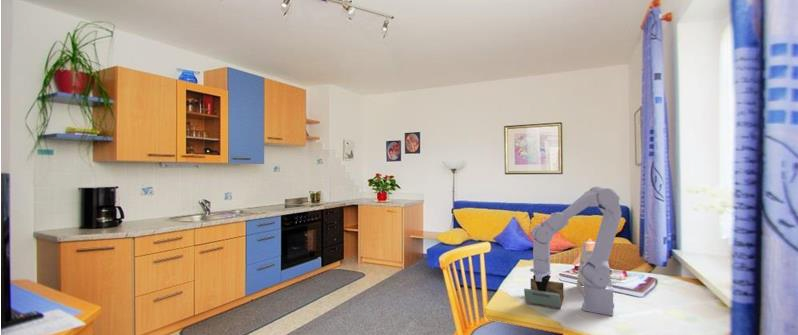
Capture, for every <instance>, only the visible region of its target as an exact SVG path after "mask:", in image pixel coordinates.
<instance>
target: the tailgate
mask: <svg viewBox="0 0 798 335" xmlns="http://www.w3.org/2000/svg"><path fill="white" fill-rule="evenodd" d="M523 292H524V293H523V294H524V300H525V303H526V302H531V303H537V304H543V305H548V306H554V307H560V294H557V293H551V292H544V291H538V290H532V289H531V288H524V289H523Z"/></svg>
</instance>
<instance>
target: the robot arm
mask: <svg viewBox="0 0 798 335" xmlns="http://www.w3.org/2000/svg"><path fill="white" fill-rule="evenodd" d="M620 199H621V198H620V196H619V195H618V194H617V192H616V191H615V190H613V189H611V188H609V187H608V188H605V187H601V186H593V187H591V188H589V190H587V191H585V192H584V193H583V194H582V195H581V196H580V197H578V198H577V199H576V200H575V201H574V202H573V203H572V204H570V205H568V207H566V209H565V208H564V210H563V211H561V212H560V211H556V212H551V213H550V216H549V217H548V218H546V219H545V220H544V221H540V224H537V225H534V226H533V227H532V230H531V231H530V235H531V237H532V238H533V245H532V248H533V249H532V251H533V252H532V254H533V255H532V258H533V260H532V262H533V263H532V264H533V266H532V267H533V268H532V267H531V268H530V269H529V272H531V273H533V275H532V279H534V280H535V282H536V285H537V289H538V291H544V292H546V289H547V284H548V281H550V279H551V277H552V276H551V274H552V271H551V244H550V242H551V241H552V239H553V237H554V235H556V234H557V233H559V232H560V231H562V230H563V229H564V228H565V227H566V226H569V220H570V219H572V218H573V217H575V216H576V215H577V214H579V213H581V212H582V211H584V210H585V209H587V208H588V207H589V208H590V207H591V208H592V207H598V209H599V210H600V212H601V213H602V217H601V218H602V219H601V221H600V225H599V228H598V229H599V230H598V232H597V236H596V239H595V241H594V242H595V244H594V246H593V250H592V251H593V252H592V255H591V256H590V257H589V258H588V259H587V262H586V263H585V264H583V267H582V269H581V273H582V275H583V277H584V278H585V281H584V294H583V298H584V299H583V300H584V301H583V305H582V311H584V312H590V313H595V314H600V315H608V316H614V309H615V303H614V287H613V286H612V287H610V286H607V285H608V284H609V282H610V276H611V275H610V276H609V272H610V273H611V271H610V270H611V268H610V265H609V264H608V263H609V259H610V255H611V253H612V249H613V246H614V242H615V238H616V235H617V232H618V230H619V225H620V221H621V218H622V214H623V213H622V208H621V204H620Z"/></svg>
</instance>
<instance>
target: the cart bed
mask: <svg viewBox="0 0 798 335" xmlns="http://www.w3.org/2000/svg"><path fill="white" fill-rule="evenodd" d="M530 289H532V290H538V289H537V285H536V282H535V280H534V279H533V277H532V278H530ZM564 289H565V288H564V282H560V281H551V280H549V281H548V284H547V289H546V292H551V293H557V294H560V307H554V306H548V305H543V304H537V303H531V302H525V304H529V305H532V306H533V305H534V306H540V307H544V308H551V309H557V310H561V309H562V306H563V303H564V299H565V298H564V297H565V296H564V294H565V293H564V292H565V291H564Z"/></svg>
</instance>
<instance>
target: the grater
mask: <svg viewBox="0 0 798 335" xmlns="http://www.w3.org/2000/svg"><path fill="white" fill-rule="evenodd" d="M595 242H596V241H583V243H582V250H581V251H580V258H579V259H580V260H579V265H578V273H577V280H576V288H578V289H579V291H580V290H581V291H582V292H583V293H584V287H582V286H584V281H585V278H584V277H583V275H582V273H581V269H582V267H583V265H585V263H586V262H587V259H588V258H589V257H590V256H591V255H592V252H593V250H587V246H588V245H589V244H592V245H593V244H594V245H595ZM608 264H609V262H608ZM609 276H610V282H609V284H608V285H607V286H610V287H613V285H612V279H611V278H612V277H611V271H610V272H609ZM581 291H580V292H581ZM582 292H581V293H582ZM583 293H582V294H583Z"/></svg>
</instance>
